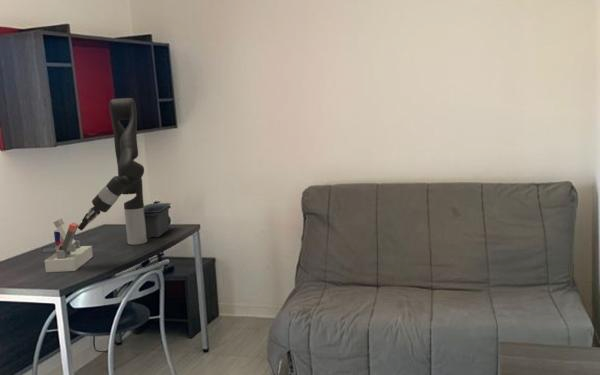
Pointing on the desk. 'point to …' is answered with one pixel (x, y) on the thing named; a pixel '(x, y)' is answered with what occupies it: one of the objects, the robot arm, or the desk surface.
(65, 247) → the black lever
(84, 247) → the switch box
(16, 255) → the desk surface
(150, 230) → the storage bin
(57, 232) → the energy drink
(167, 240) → the desk surface
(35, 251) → the desk surface
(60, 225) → the ivory lever
